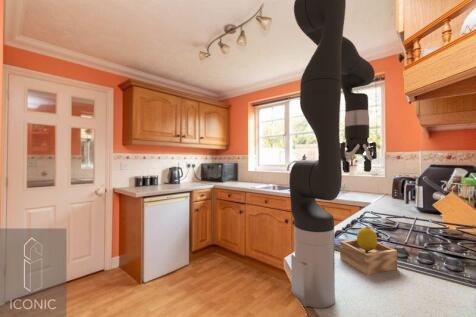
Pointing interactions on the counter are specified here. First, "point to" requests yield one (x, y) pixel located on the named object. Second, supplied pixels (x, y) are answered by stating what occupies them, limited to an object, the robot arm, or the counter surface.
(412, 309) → the counter surface
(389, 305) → the counter surface
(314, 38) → the robot arm
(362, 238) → the lemon
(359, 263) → the oak box
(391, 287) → the counter surface
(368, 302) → the counter surface
